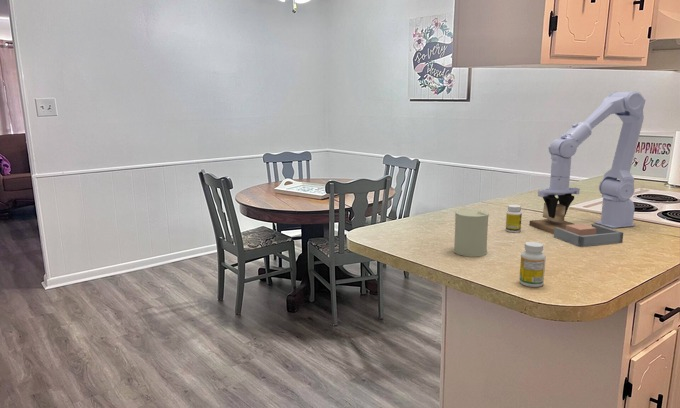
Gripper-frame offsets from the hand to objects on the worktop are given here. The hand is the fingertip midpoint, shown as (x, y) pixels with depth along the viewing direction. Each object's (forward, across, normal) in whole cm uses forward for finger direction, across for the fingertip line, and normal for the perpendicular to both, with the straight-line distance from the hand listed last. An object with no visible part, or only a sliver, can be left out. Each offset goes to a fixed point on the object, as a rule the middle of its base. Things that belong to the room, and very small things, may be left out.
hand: (556, 216), depth 163 cm
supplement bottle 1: (+4, +15, -2) cm, 16 cm away
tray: (+4, 0, +14) cm, 14 cm away
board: (+4, 0, 0) cm, 4 cm away
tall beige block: (+1, 0, -2) cm, 2 cm away
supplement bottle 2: (+4, +39, +40) cm, 56 cm away
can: (+4, +40, +14) cm, 43 cm away
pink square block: (+4, 0, +11) cm, 12 cm away
